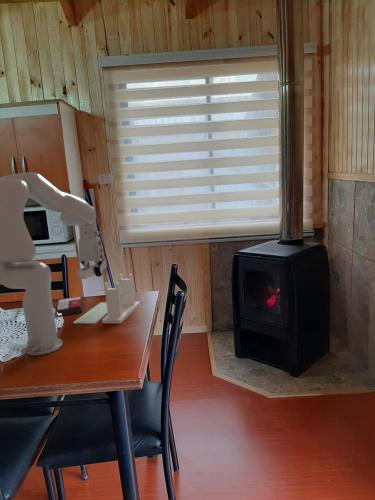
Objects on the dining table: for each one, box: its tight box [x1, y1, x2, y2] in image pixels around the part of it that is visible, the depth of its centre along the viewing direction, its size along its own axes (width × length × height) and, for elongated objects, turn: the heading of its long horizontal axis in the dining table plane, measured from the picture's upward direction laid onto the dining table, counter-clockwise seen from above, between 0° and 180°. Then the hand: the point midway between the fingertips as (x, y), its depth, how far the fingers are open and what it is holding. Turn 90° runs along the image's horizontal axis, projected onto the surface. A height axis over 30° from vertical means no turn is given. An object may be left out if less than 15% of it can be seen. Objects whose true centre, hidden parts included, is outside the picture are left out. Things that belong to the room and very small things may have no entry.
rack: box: [101, 273, 141, 324], centre depth 159 cm, size 24×8×16 cm, turn 167°
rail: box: [77, 259, 108, 280], centre depth 160 cm, size 20×4×4 cm, turn 167°
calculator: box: [55, 296, 83, 316], centre depth 171 cm, size 11×4×15 cm
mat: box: [72, 301, 108, 325], centre depth 164 cm, size 26×10×1 cm, turn 167°
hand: (93, 275), depth 161 cm, fingers closed on rail, 3 cm apart
